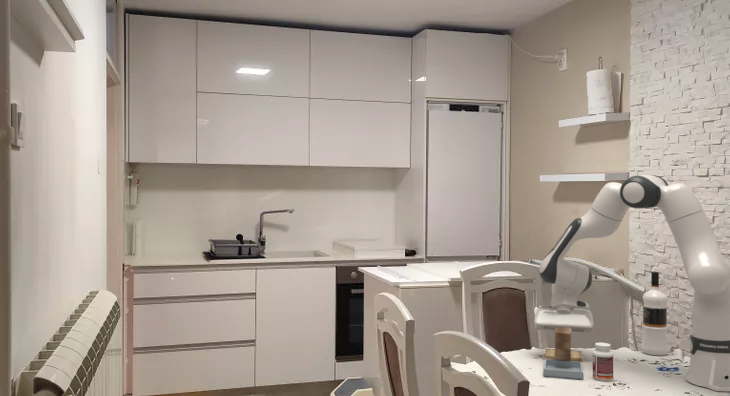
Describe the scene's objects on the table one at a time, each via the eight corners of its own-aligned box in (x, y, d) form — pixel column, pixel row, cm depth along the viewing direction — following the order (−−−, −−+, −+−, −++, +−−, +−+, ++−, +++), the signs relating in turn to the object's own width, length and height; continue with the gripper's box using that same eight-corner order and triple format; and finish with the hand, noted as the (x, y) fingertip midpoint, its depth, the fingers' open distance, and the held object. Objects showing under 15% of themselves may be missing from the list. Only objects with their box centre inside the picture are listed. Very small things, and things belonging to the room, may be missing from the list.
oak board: (581, 361, 221) (581, 351, 221) (582, 368, 211) (582, 358, 211) (545, 358, 225) (545, 348, 225) (544, 365, 215) (544, 355, 215)
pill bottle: (617, 379, 199) (617, 344, 199) (605, 382, 196) (605, 347, 196) (600, 374, 204) (600, 341, 204) (588, 378, 201) (588, 343, 201)
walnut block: (570, 353, 217) (570, 327, 217) (570, 360, 209) (570, 333, 209) (555, 352, 219) (555, 326, 219) (554, 359, 210) (554, 332, 210)
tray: (582, 369, 211) (582, 361, 211) (583, 380, 198) (583, 372, 198) (544, 366, 214) (544, 358, 214) (543, 376, 202) (543, 369, 202)
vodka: (666, 357, 226) (666, 274, 225) (638, 354, 231) (638, 272, 231) (670, 352, 233) (670, 271, 233) (643, 348, 239) (644, 269, 238)
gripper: (533, 300, 229) (532, 333, 220) (593, 303, 223) (594, 337, 213) (534, 310, 233) (532, 343, 224) (593, 313, 227) (594, 347, 218)
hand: (563, 340), depth 219 cm, fingers closed, pressing on walnut block
